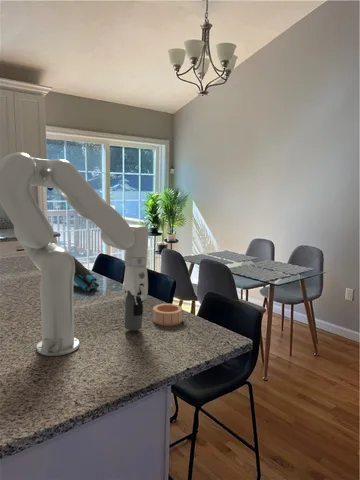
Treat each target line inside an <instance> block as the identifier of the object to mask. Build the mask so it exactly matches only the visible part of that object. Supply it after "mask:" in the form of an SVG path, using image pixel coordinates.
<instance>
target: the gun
mask: <svg viewBox="0 0 360 480" xmlns="http://www.w3.org/2000/svg"><path fill="white" fill-rule="evenodd" d="M73 259H74V262H75V273H74V282H73V283H75V284H77V285H78V286H79V287H80V288H81V289H82V290H83V291H84V292H85V293H89V292H90V291H91V290H92V291H97V289H99V286H100V284H99V283H98V282H97V280H98V279H97V277H96V276H95V275H93V274H92V273H91V272H90V271H89V269H87V268H86V267H85V266H84V265H83V264H82V262H80V261H79V260H78V259H77V258H76V257H75V256H73Z"/></svg>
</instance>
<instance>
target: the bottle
mask: <svg viewBox="0 0 360 480" xmlns="http://www.w3.org/2000/svg"><path fill="white" fill-rule="evenodd" d="M127 294H129V296H127V297H126V298H125V304H126V306H125V307H124V308H125V309H124V313H125V314H124V328H125V329H126V330H128V331H139V330H141V329H142V326H143V324H142V323H143V314H142V315H139V316H134V315H133V312H134V304H135V299H134V295H132V294H131V292H130V291H128V290H127ZM137 294H138V295H140V293H137ZM139 298H140V297H137V300H138V299H139Z"/></svg>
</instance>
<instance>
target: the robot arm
mask: <svg viewBox="0 0 360 480" xmlns="http://www.w3.org/2000/svg"><path fill="white" fill-rule="evenodd" d="M32 186H34V187H43V188H45V187H46V188H54V189H55V190H56V191H57V192H58V193H59V195H61V196H62V197H63V198H64V200H65V201H66V202H67V203H68V204H69V206H71V207H72V209H73V210H74V211H75V212H76V213H77V214H78V215H80V216H81V217H82V218H84V219H85V220H87V221H89V222H90V223H92V224H93V225H95V226H96V227H97V228H98V229H99V230H101V231H100V239H101V240H102V242H103V243H104V244H105V245H107V246H109V247H112V248H115V249H116V250H117V249H118V250H120V251H124V266H125V267H124V276H123V288H124V292H125V293H124V294H125V296H124V298H125V299H126V297H127V296H129V294H127V290H128V291H130V292H131V294H132V295H134V299H135V304H134V312H133V315H134V316H139V315H142V316H143V314H144V313H143V312H144V311H143V310H144V303H145V301H146V298H147V295H148V293H149V277H148V267H147V266H148V245H149V244H148V243H149V228H148V226H147V225H144V224H130V223H128V222H127V221H126V220H125V218H124V217H123V216H122V215H121V214H120V213H119V211H117V210H116V209H115V208H114V207H113V206H111V205H110V204H109V203H108V202H107V200H105V199H104V198H103V197H102V196H100V194H98V192H96V190H95V189H94V187H92V185H91V184H90V183H89V182H88V181H87V180H86V179H85V177H84V176H83V175H82V173H80V171H79V170H78V169H77V168H76V167H75V166H74V165H73V163H71V162H70V161H69V160H67V159H64V158H57V159H43V158H37V157H32V156H31V155H29V154H28V153H26V152H22V151H21V152H18V151H16V152H13V153H9V154H8V155H6V156H4V157H3V158H2V159H1V160H0V206H1V207H2V209H3V210H4V212H5V213H6V216H7V217H8V219H9V221H10V222H11V223H12V225H13V233H14V236H15V238H16V239H17V241H18V242H19V244H20V246H21V248H22V249H23V251H24V252H25V254H26V255H27V256H28V257H29V259H30V261H32V264H33V265H34V266H35V267H36V268H37V269H38V270H39V271H40V273H41V274H40V287H39V293H40V294H39V295H40V315H41V316H40V318H41V319H40V320H41V321H40V322H41V341H39V342H38V343H37V344H36V351H37V353H39V354H40V355H43V356H48V357H54V356H55V357H58V356H64V355H67V354H71V353H73V352H75V351H76V350H78V349H79V347H80V340H79V339H78V338H76V337H75V310H74V309H75V307H74V306H75V305H74V283H75V282H74V273H75V262H74V259H73V257H74V256H73V255H72V253H71V252H70V251H69V250H67V249H66V248H64V247H63V246H60V245H59V244H58V242H57V240H56V239H55V238H54V236H55V235H54V234H55V233H54V229H53V226H52V224H51V223H50V221H49V220H48V219H47V217H46V216H45V214H44V212H43V211H42V209H41V208H40V206H39V205H38V202H37V200H36V199H35V197H34V195H33V192H32ZM137 293H140V295H138V294H137ZM137 297H140V298H139V299H138V300H137ZM125 306H126V303H125Z"/></svg>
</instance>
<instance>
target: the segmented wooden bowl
mask: <svg viewBox="0 0 360 480" xmlns="http://www.w3.org/2000/svg"><path fill="white" fill-rule="evenodd" d="M152 322H153V323H154V324H156V325H158V326H163V327H174V326H178V325H180V324H181V323H182V322H183V306H181V305H179V304H176V303H159V304H156V305H155V306H152Z"/></svg>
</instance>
